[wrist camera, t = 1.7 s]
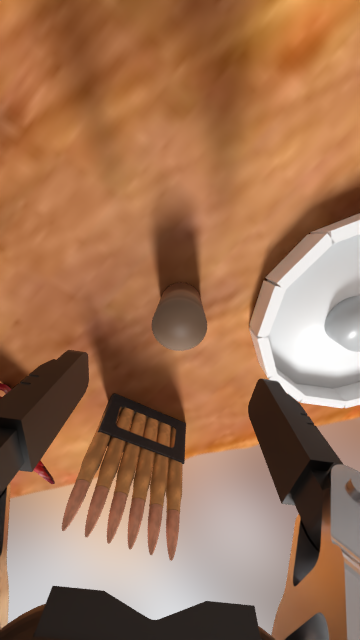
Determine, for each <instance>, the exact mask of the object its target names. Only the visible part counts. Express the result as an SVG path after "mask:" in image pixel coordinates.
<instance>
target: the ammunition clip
mask: <svg viewBox="0 0 360 640" xmlns="http://www.w3.org/2000/svg"><path fill="white" fill-rule="evenodd" d="M118 417H119V418H118ZM117 419H118V421H117ZM116 422H117V423H116ZM131 423H132V424H131ZM130 426H131V427H130ZM129 430H130V431H129ZM185 434H186V423H184V422H181V421H179V420H177V419H174V418H172V417H170V416H167V415H165V414H163V413H160V412H158V411H155V410H153V409H151V408H148V407H146V406H144V405H141V404H139V403H136V402H134V401H132V400H129V399H127V398H125V397H122V396H120V395H117V394H113V395H112V396H111V398H110V400H109V402H108V404H107V406H106V409H105V411H104V414H103V416H102V419H101V421H100V424H99V426H98V428H97V431H96V433H95V435H94V437H93V439H92V442H91V444H90V446H89V448H88V450H87V453H86V455H85V457H84V459H83V462H82V465H81V469H80V472H79V475H78V477H77V479H76V483H75V485H74V488H73V490H72V492H71V495H70V497H69V500H68V503H67V506H66V510H65V513H64V518H63V523H62V531H65V530H66V529H67V527H68V526H69V525H70V523H71V522H72V520H73V519H74V517H75V515H76V514H77V512H78V510H79V508H80V506H81V504H82V502H83V500H84V498H85V496H86V493H87V491H88V488H89V486H90V484H91V482H92V480H93V477H94V475H95V473H96V472H97V470H98V468H99V466H100V464H101V461H102V458H103V456H104V453H105V451H106V448H107V446H108V448H107V451H106V454H105V456H104V459H103V462H102V464H101V468H100V471H99V477H98V481H97V484H96V487H95V491H94V494H93V497H92V500H91V503H90V507H89V510H88V515H87V520H86V526H85V537H88V536H89V534H90V533H91V532H92V530H93V529H94V527H95V525H96V523H97V521H98V519H99V517H100V514H101V512H102V509H103V507H104V504H105V501H106V498H107V495H108V492H109V490H110V487H111V484H112V481H113V479H114V477H115V475H116V473H117V470H118V467H119V470H118V474H117V480H116V487H115V491H114V497H113V500H112V504H111V508H110V513H109V519H108V528H107V542H108V544H109V543H110V542H111V541H112V539H113V538H114V535H115V534H116V531H117V529H118V526H119V524H120V521H121V518H122V515H123V512H124V508H125V504H126V500H127V497H128V493H129V490H130V486H131V483H132V480H133V478H134V485H133V495H132V503H131V508H130V514H129V522H128V546H129V549H132V547H133V545H134V543H135V541H136V538H137V535H138V532H139V528H140V525H141V521H142V517H143V512H144V506H145V502H146V496H147V491H148V488H149V485H150V505H149V506H150V509H149V517H148V547H149V552H150V555H152V554H153V552H154V550H155V547H156V544H157V540H158V536H159V532H160V526H161V520H162V509H163V503H164V496H165V492H166V497H167V519H166V536H167V547H168V554H169V558H170V560H171V561H172V560H173V558H174V555H175V551H176V546H177V540H178V532H179V514H180V502H181V497H182V464H184V459H185ZM122 453H123V456H122ZM121 457H122V459H121ZM120 460H121V463H120ZM137 461H138V462H137ZM119 463H120V466H119ZM136 466H137V467H136ZM152 467H153V469H152ZM135 470H136V472H135ZM151 474H152V476H151ZM134 475H135V477H134ZM150 481H151V484H150Z"/></svg>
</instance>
